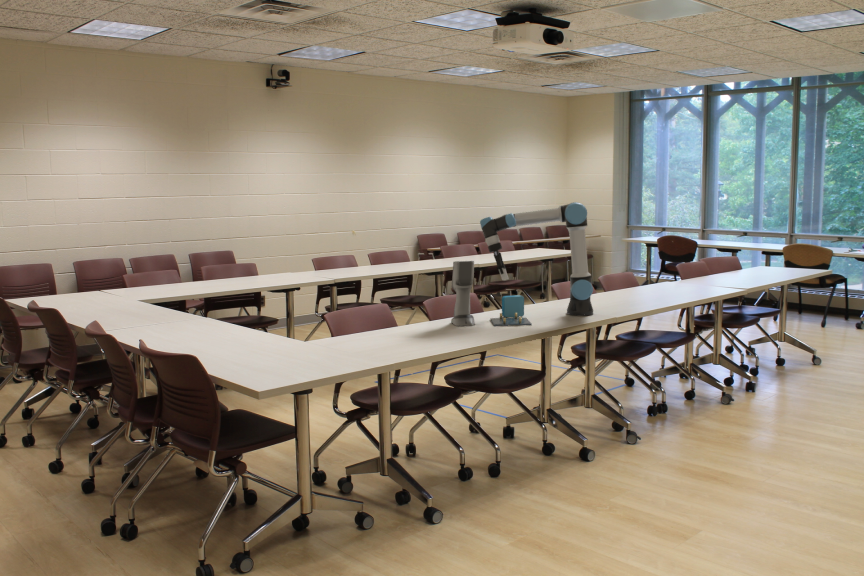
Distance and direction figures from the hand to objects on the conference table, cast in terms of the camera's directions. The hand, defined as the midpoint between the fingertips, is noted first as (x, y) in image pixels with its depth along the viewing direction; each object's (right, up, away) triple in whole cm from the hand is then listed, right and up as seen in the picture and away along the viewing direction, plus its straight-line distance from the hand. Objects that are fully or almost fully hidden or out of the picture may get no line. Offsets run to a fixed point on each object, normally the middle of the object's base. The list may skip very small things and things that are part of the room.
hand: (505, 279), depth 411 cm
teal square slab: (+5, -21, +7) cm, 23 cm away
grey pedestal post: (-25, -24, -14) cm, 37 cm away
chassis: (+1, -24, -12) cm, 26 cm away
